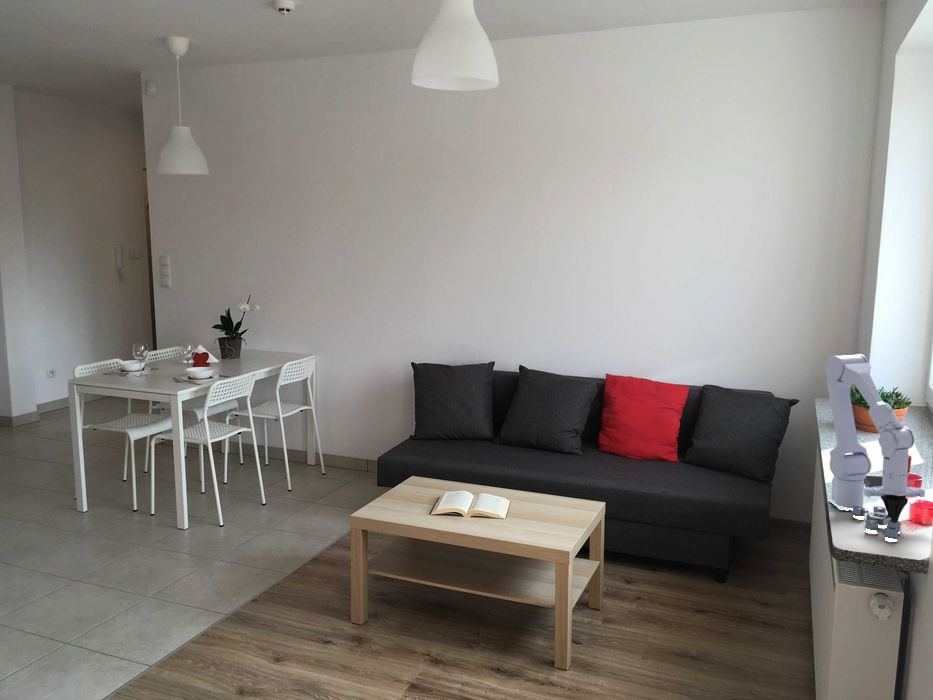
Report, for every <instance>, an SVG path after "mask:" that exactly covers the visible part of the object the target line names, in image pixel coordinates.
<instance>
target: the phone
mask: <svg viewBox="0 0 933 700" xmlns="http://www.w3.org/2000/svg"><path fill="white" fill-rule="evenodd" d="M882 478H883V476H880V475H879V476H876V475H866V478H864V483H865V484H866V485H865V484H864V485H865V487H866V486H867V487H868V488H871V487H879V486H882ZM867 487H866V488H867Z"/></svg>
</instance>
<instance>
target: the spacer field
mask: <svg viewBox="0 0 933 700" xmlns="http://www.w3.org/2000/svg"><path fill="white" fill-rule="evenodd" d="M872 512H879V513H885V514H887V510H886V507H885V506H880V505H879V506H873V510H872ZM865 513H866V511H865V508H863V507H860V506H854V507H853V511H852V514H853V515H855V516H865V515H866V514H865ZM864 526H865V528H867V529H870V530H878V531H879V529H878V522H877V521H874V520H867V519H866V520H865V525H864ZM901 526H902V523H901V521H899V520H898V521H895V520H889V521H888V525H887V528H885V529H884V530H883V531H884V532H883V536H885V537H888V538H893V539H897V538H898V539H899V535H898V532H899V531H901V529H902V527H901Z"/></svg>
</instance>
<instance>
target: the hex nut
mask: <svg viewBox="0 0 933 700" xmlns="http://www.w3.org/2000/svg"><path fill="white" fill-rule="evenodd" d="M866 520H874V521H877V522H878V524H879V525H887V524H888V521H889V520H891V517H890V516H889V515H888V513H886V514H885V513H879V512H873V511H872V512H868V513H866Z"/></svg>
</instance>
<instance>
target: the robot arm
mask: <svg viewBox="0 0 933 700" xmlns="http://www.w3.org/2000/svg"><path fill="white" fill-rule="evenodd" d="M871 369H872V367H871V364H870V363H869V360H868V358H867V357H866V356H865V354H862V353H857V354H848V355H845V354H844V355H831V356H830V357H828V359H827V361H826V362H825V364H824V371H825V377H826V383H827V391H828V395H829V396H828V397H829V403H830V409H831V413H832V414H831V415H832V422H833V425H834V426H833V428H834V435H835V440H836V445H835V446H834V447H833V448H832V449H831V450H830V451H829V456H830V460H829V470H830V471H831V473H832V475H833V478H832V480H831V499H832V500H834V501H835V503H836V504H837V505H839V506H843V507H847V508H853V507H854V506H860V507H863V506H864V496H865V497H867V498H870V497H880V498H881V500H882V502H883V505H884V508H886V514H887V515H889V516H890V517H891V520H895V521H899V518H900V515H901V514H902V511H903V509H904V508H905V507H906V505H907V504H908V502H909V499H908V498H907V497H920V498H925V496H926V495H925V494H926V493H925V489H924V488H922V487H911V486H908V471H909V470H908V469H909V449H911V448H912V447H913V446H914V444H915V437H914V436H915V435H914V434H913V431H912V429H910V428H909V427H907V426H905V425H904V424H903V423H901V422H900V420H899V418H898V416H897V415H896V413H895V411H894V408H893V407H892V406H891V404H890V403H886V402H885V401H883V399H882V398H881V395H880V393H879V392H878V389H877V387H876V385H875V382H874V380H873V378H872V376H871ZM852 385H854V386H855V387H856V389H857V390H858V392H859V393H860V395H861V397H863V399H864V401H865V402H866V403H867V405H868V406H869V409H868V412H867V413H868V415H869V417H870V420H871V421H872V422H873V424H874V426H875V428H876V430H877V432H878V433H879V437H878V444H879V446H880V449H881V455H882V457H883V458H882V477H883V478H882V486H879V487H871V488H867V487H865V484H864V478H866V476H867V475H868V474H870V472H871V469H872V462H871V461H872V460H871V458H870V457H869V455H868V453H867V452H868V451H867V449H866V447H864V446H863V445H861V443H860V442H859V441H858V434H857V430H856V429H857V428H856V423H855V416H854V411H853V405H852V400H851V395H850V394H851V393H850V388H851V387H852Z"/></svg>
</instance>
